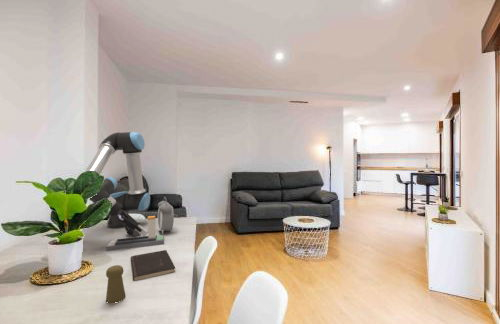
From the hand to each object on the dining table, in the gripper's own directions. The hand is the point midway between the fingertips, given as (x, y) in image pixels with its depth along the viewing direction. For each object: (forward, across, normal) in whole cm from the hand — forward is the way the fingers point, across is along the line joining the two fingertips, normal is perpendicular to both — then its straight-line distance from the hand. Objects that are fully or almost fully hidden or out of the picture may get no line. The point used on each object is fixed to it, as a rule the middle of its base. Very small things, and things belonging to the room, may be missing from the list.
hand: (146, 234), depth 142 cm
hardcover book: (+7, +32, -1) cm, 33 cm away
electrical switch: (-2, -18, -10) cm, 21 cm away
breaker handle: (+4, 0, 0) cm, 4 cm away
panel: (0, 0, -7) cm, 7 cm away
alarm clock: (+11, -19, +4) cm, 22 cm away
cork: (0, +56, -8) cm, 56 cm away
